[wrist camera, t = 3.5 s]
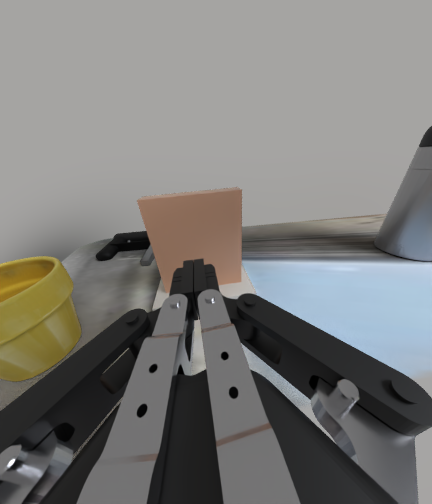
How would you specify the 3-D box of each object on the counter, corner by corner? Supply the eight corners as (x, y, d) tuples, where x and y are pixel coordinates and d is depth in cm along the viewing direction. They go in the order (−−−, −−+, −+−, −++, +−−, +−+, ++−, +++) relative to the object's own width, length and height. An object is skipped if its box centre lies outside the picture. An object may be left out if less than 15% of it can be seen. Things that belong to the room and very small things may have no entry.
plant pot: (117, 311, 22) (83, 253, 18) (42, 410, 13) (-67, 346, 9) (53, 311, 23) (5, 256, 19) (-56, 402, 14) (-201, 341, 10)
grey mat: (230, 243, 39) (230, 241, 38) (256, 295, 23) (256, 292, 23) (169, 251, 38) (169, 249, 37) (153, 311, 22) (152, 308, 22)
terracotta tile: (237, 272, 27) (236, 187, 20) (241, 281, 25) (241, 189, 18) (168, 282, 26) (143, 196, 20) (166, 293, 24) (136, 200, 17)
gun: (175, 254, 32) (185, 224, 45) (78, 263, 32) (116, 230, 45) (178, 267, 33) (187, 234, 47) (86, 275, 34) (121, 240, 47)
